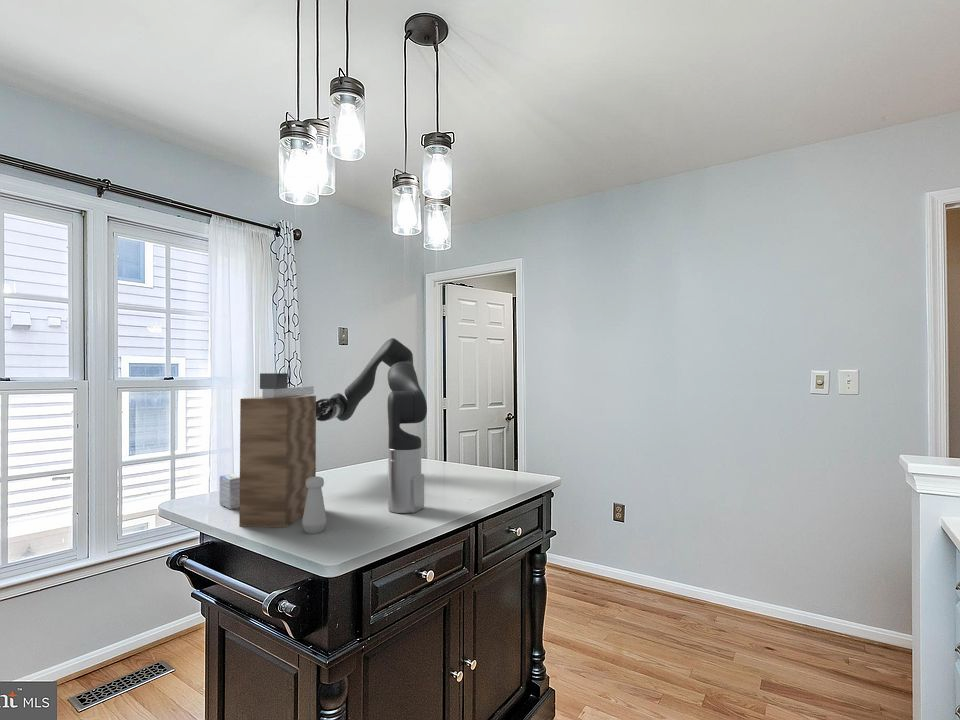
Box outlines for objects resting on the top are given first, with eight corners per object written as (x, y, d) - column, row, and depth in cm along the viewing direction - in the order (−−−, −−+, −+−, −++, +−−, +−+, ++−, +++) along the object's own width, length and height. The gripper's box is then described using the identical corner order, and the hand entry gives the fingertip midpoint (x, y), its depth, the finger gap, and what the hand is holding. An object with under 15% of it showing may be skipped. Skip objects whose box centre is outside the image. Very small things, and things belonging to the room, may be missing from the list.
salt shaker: (312, 536, 120) (312, 480, 120) (296, 532, 123) (296, 478, 123) (331, 529, 125) (332, 476, 125) (316, 526, 128) (316, 474, 128)
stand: (275, 507, 146) (275, 395, 147) (315, 508, 145) (315, 395, 146) (239, 526, 128) (240, 398, 129) (284, 527, 127) (285, 398, 128)
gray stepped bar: (301, 394, 155) (301, 373, 155) (315, 394, 154) (316, 373, 154) (259, 398, 131) (259, 373, 131) (276, 398, 130) (276, 373, 131)
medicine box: (245, 506, 147) (246, 476, 147) (229, 510, 143) (229, 479, 144) (234, 502, 152) (235, 473, 152) (218, 505, 149) (219, 475, 149)
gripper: (303, 409, 176) (284, 411, 160) (339, 390, 176) (324, 391, 160) (312, 428, 176) (294, 433, 159) (349, 409, 176) (334, 412, 159)
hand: (309, 412), depth 160 cm, fingers open, 8 cm apart
